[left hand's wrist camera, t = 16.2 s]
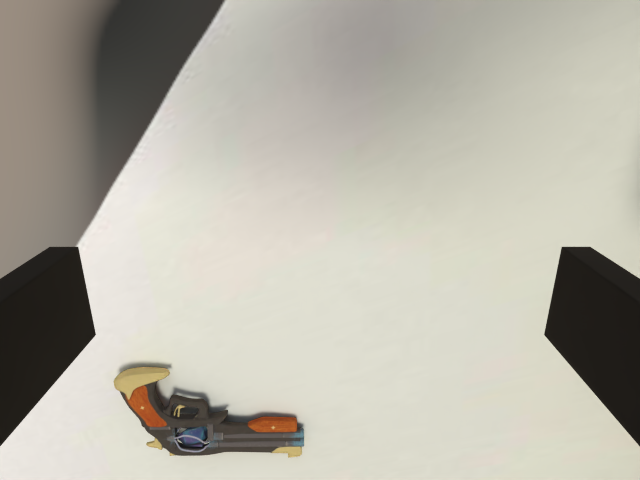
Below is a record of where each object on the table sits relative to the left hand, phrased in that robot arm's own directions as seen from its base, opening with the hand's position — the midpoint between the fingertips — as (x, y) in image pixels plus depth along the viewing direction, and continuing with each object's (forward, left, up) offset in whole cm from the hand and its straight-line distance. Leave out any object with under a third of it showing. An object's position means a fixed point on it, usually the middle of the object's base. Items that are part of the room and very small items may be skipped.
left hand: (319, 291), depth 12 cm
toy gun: (+28, +7, -27) cm, 40 cm away
